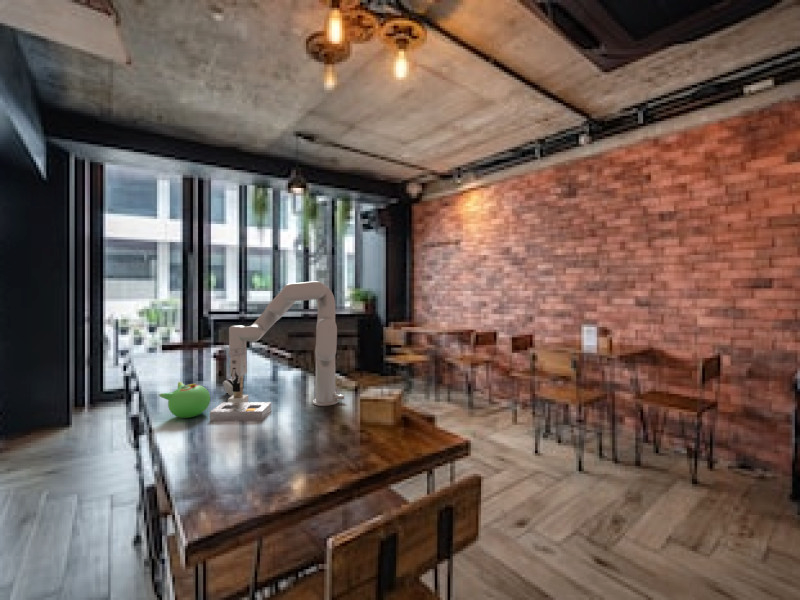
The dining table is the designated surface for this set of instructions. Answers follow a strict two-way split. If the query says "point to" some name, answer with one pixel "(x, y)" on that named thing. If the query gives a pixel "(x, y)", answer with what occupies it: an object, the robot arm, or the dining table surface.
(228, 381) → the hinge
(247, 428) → the dining table surface
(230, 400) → the beige square block
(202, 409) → the toy bird
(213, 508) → the dining table surface
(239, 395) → the peg
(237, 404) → the plate
